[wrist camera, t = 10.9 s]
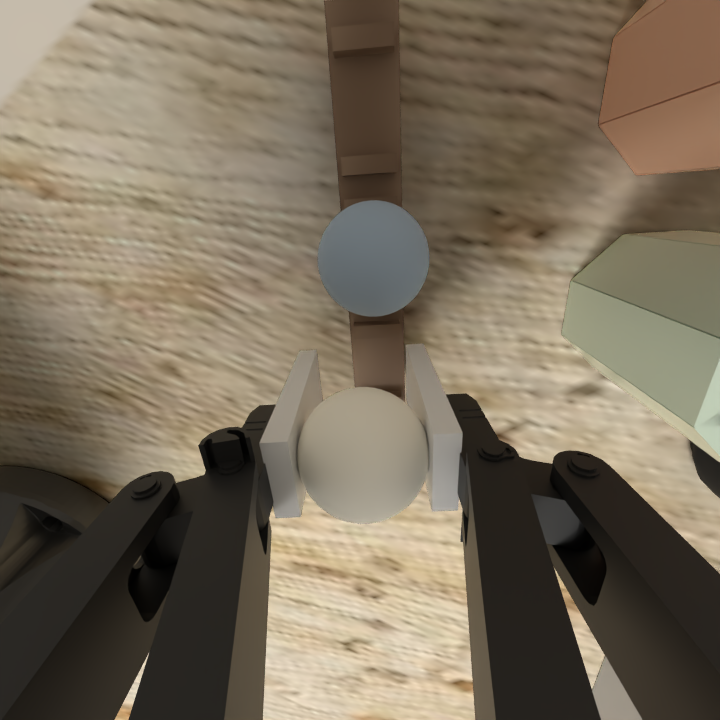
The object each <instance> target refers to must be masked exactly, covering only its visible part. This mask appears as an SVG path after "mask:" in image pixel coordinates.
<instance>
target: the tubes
mask: <svg viewBox="0 0 720 720" xmlns="http://www.w3.org/2000/svg"><path fill="white" fill-rule="evenodd" d="M598 124H599V125H598V126H599V127H600V128H601V130H602V131H603V132H604V134H605V135H606V136H607V137H608V139H609V140H610V141H611V143H612V144H613V145H614V147H615V148H616V149H617V151H618V152H619V153H620V155H621V156H622V157H623V159H624V160H625V161H626V163H627V164H628V165H629V167H630V168H631V169H632V171H633V172H634V173H635V175H651V174H665V173H679V172H692V171H706V170H716V169H720V0H647V1H646V2H645V3H644V4H643V6H642V7H641V8H640V9H639V10H638V11H637V12H636V13H635V14H634V15H633V16H632V18H631V19H630V20H629V21H628V22H627V23H626V24H625V25H624V26H623V27H622V29H621V30H620V31H619V32H618V33H617V34H616V35H615V36H614V38H613V42H612V48H611V54H610V59H609V65H608V71H607V76H606V82H605V88H604V93H603V99H602V105H601V111H600V116H599V122H598ZM571 280H572V281H571V282H570V287H569V293H568V299H567V304H566V310H565V316H564V322H563V327H562V333H561V334H562V336H563V337H564V338H565V339H566V340H567V341H568V342H569V343H570V344H571V345H572V346H573V347H574V349H575V350H576V351H577V352H578V353H579V354H580V355H581V356H582V357H583V358H584V359H585V360H586V361H587V362H588V363H589V364H590V365H591V366H592V367H593V368H594V369H596V370H597V371H598V372H600V373H601V374H602V375H604V376H605V377H606V378H608V379H609V380H610V381H612V382H613V383H614V384H616V385H617V386H618V387H620V388H621V389H622V390H624V391H625V392H626V393H628V394H629V395H630V396H632V397H633V398H634V399H636V400H637V401H638V402H640V403H641V404H642V405H644V406H645V407H646V408H648V409H649V410H650V411H652V412H653V413H654V414H656V415H657V416H658V417H660V418H661V419H662V420H664V421H665V422H666V423H668V424H669V425H670V426H672V427H673V428H674V429H676V430H677V431H678V432H680V433H681V434H682V435H684V436H685V437H686V438H688V439H689V440H690V441H692V442H693V443H694V444H696V445H697V446H698V447H700V448H701V449H702V450H704V451H705V452H706V453H708V454H709V455H710V456H712V457H713V458H714V459H716V460H717V461H718V462H720V233H717V232H705V231H693V230H679V231H664V232H648V233H632V234H624V235H622V236H620V237H619V238H618V239H617V240H616V241H615V242H614V243H612V244H611V245H610V246H609V247H608V248H607V249H606V250H605V251H603V252H602V253H601V254H600V255H599V256H598V257H597V258H595V259H594V260H593V261H592V262H591V263H590V264H589V265H587V266H586V267H585V268H584V269H583V270H582V271H581V272H579V273H578V274H577V275H576V276H575V277H574V278H573V279H571Z"/></svg>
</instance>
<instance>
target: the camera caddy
mask: <svg viewBox="0 0 720 720" xmlns="http://www.w3.org/2000/svg"><path fill="white" fill-rule="evenodd" d="M592 692H593V695H594V699H595V702H596V705H597V708H598V711H599V715H600V718H601V720H642V718H641V717H640V715H639V713H638V711H637V710H636V708H635V706H634V704H633V703H632V701H631V699H630V697H629V696H628V694H627V692H626V691H625V689H624V687H623V685H622V684H621V682H620V680H619V678H618V677H617V675H616V673H615V672H614V670H613V668H612V666H611V665H610V663H609V661H608V659H607V658H606V656H605V658H604V661H603V663H602V666H601V669H600V671H599V674H598V677H597V679H596V682H595V685H594V687H593V690H592Z"/></svg>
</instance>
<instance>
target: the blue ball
mask: <svg viewBox="0 0 720 720" xmlns="http://www.w3.org/2000/svg"><path fill="white" fill-rule="evenodd" d="M429 260H430V257H429V247H428V242H427V239H426V236H425V234H424V232H423V230H422V228H421V227H420V225H419V224H418V222H417V221H416V220H415V219H414V217H413V216H412V215H410V214H409V213H408V212H407V211H406V210H404V209H403V208H401V207H399V206H397V205H395V204H392V203H389V202H386V201H379V200H370V201H363V202H359V203H356V204H353V205H351V206H349V207H347V208H346V209H344V210H342V211H341V212H340V213H339V214H338V215H336V216H335V217H334V219H333V220H332V221H331V222H330V223H329V225H328V226H327V228H326V229H325V231H324V233H323V235H322V238H321V241H320V244H319V249H318V269H319V274H320V277H321V280H322V282H323V285H324V287H325V289H326V290H327V292H328V293H329V295H330V296H331V297H332V298H333V300H335V301H336V302H337V303H338V304H339V305H340V306H342V307H343V308H345V309H346V310H348V311H350V312H352V313H355V314H358V315H362V316H369V317H377V316H384V315H388V314H391V313H394V312H396V311H398V310H400V309H402V308H403V307H405V306H406V305H407V304H409V303H410V302H411V301H412V300H413V299H414V298H415V296H416V295H417V294H418V293H419V291H420V290H421V288H422V286H423V284H424V282H425V279H426V276H427V273H428V269H429Z"/></svg>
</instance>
